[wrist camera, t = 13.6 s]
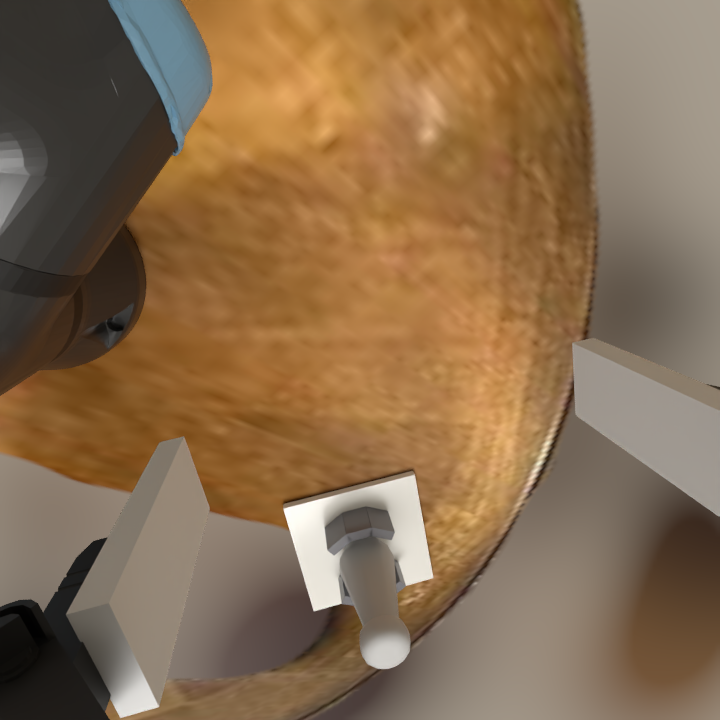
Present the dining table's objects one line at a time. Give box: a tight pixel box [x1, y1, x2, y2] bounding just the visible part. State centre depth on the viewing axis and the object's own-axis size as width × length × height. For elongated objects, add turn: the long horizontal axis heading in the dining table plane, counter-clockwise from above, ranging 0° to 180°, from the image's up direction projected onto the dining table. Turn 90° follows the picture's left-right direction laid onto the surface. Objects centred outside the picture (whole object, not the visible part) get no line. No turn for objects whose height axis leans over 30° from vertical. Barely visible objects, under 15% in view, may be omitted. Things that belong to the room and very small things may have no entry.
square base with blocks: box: [283, 471, 433, 611], centre depth 49 cm, size 14×14×4 cm
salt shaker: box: [339, 536, 410, 669], centre depth 45 cm, size 6×6×13 cm
